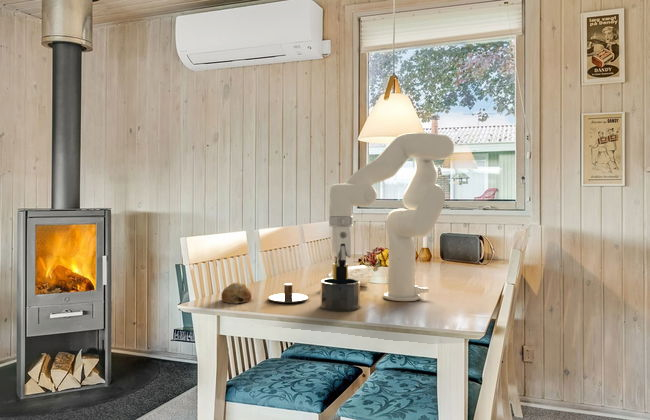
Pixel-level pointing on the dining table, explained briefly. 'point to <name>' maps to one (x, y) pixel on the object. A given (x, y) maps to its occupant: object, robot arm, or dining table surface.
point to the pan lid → (288, 296)
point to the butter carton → (335, 270)
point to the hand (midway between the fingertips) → (340, 277)
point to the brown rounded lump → (236, 293)
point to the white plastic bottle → (356, 274)
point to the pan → (340, 294)
